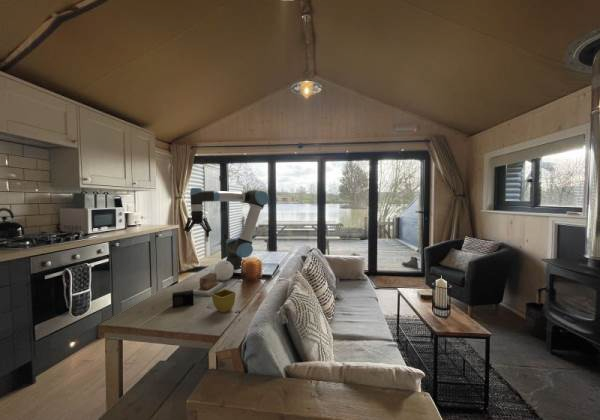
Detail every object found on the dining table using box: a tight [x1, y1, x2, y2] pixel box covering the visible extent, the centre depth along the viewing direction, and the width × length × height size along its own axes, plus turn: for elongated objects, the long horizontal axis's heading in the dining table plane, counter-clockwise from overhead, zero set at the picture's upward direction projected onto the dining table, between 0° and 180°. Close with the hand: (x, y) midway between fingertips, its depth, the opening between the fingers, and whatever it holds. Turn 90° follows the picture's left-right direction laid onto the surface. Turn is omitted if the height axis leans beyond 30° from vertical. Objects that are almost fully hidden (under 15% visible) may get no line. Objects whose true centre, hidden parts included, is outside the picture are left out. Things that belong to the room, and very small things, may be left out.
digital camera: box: [171, 289, 195, 309], centre depth 147 cm, size 10×5×7 cm, turn 112°
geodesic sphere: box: [213, 260, 235, 281], centre depth 189 cm, size 14×14×14 cm
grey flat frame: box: [192, 282, 228, 297], centre depth 170 cm, size 20×14×2 cm
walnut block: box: [199, 272, 218, 291], centre depth 170 cm, size 4×11×8 cm, turn 165°
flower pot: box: [211, 288, 237, 314], centre depth 140 cm, size 9×9×9 cm
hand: (198, 241), depth 188 cm, fingers open, 13 cm apart
